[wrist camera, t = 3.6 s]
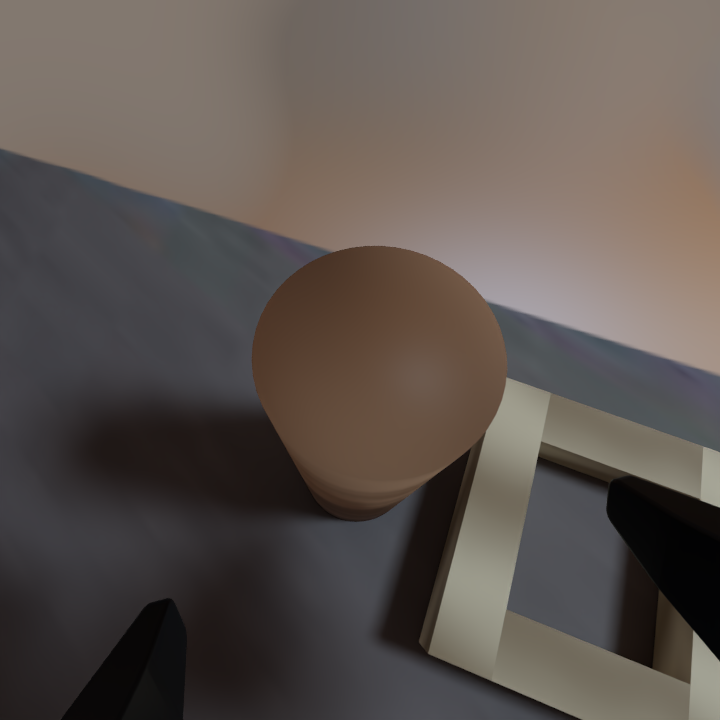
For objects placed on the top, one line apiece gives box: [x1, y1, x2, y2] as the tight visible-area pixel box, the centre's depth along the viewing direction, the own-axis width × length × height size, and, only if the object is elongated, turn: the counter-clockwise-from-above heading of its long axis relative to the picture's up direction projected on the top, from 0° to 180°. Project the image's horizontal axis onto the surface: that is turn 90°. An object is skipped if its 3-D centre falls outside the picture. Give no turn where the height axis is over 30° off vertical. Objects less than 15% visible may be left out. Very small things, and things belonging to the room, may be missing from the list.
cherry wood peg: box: [252, 246, 507, 522], centre depth 14 cm, size 5×5×12 cm
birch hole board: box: [419, 378, 720, 720], centre depth 17 cm, size 11×11×2 cm
